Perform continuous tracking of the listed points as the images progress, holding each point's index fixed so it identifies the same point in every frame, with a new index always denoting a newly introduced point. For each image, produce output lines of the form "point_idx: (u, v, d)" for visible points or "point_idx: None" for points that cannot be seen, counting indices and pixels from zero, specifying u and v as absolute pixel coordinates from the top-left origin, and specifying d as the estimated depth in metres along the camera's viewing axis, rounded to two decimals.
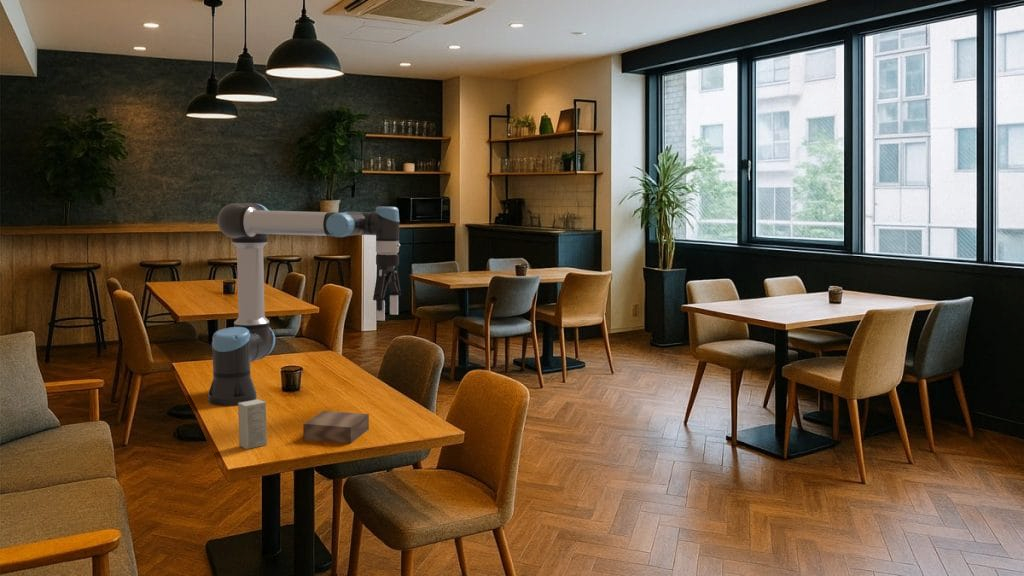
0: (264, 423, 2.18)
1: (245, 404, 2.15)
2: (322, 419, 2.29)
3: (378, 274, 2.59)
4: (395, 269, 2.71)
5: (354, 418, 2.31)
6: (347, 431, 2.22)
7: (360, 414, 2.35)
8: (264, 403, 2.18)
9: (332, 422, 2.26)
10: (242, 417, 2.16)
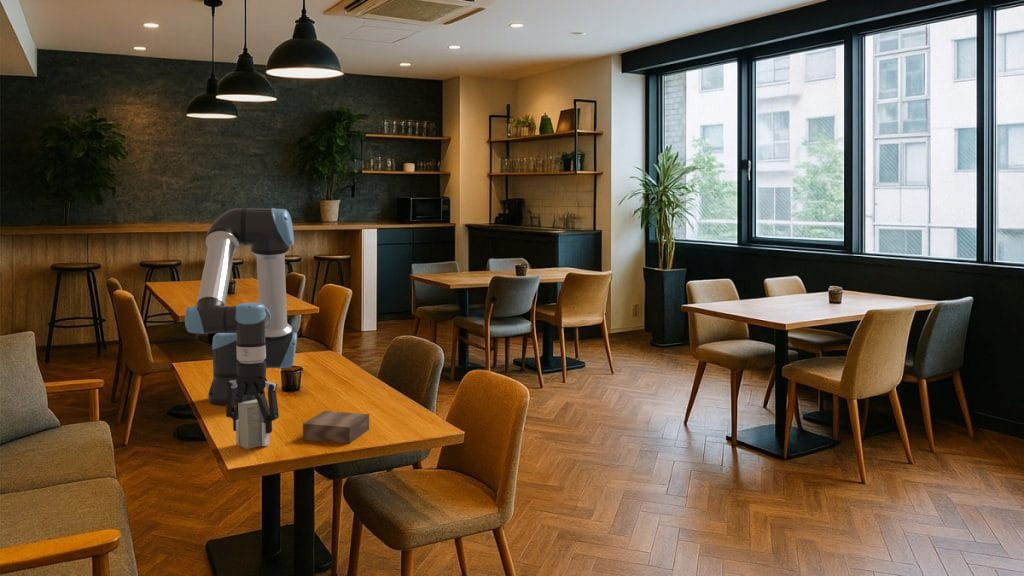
0: None
1: (245, 404, 2.15)
2: (321, 419, 2.29)
3: None
4: None
5: (354, 418, 2.31)
6: (346, 431, 2.22)
7: (360, 414, 2.35)
8: None
9: (332, 422, 2.26)
10: (242, 417, 2.16)
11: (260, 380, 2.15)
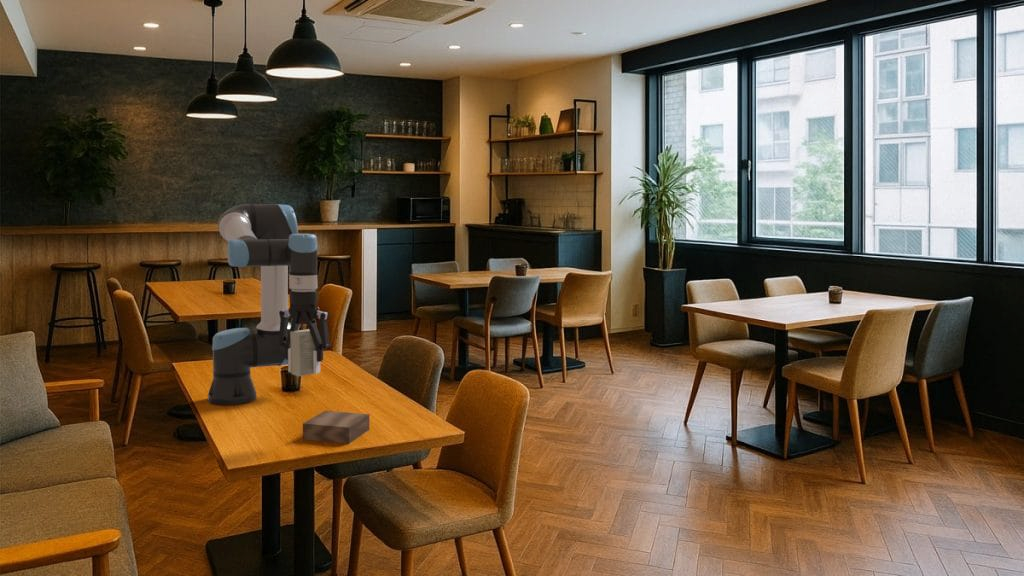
0: None
1: (297, 332, 2.20)
2: (321, 419, 2.29)
3: None
4: None
5: (354, 418, 2.31)
6: (346, 431, 2.22)
7: (361, 414, 2.35)
8: None
9: (332, 422, 2.26)
10: (294, 345, 2.20)
11: (312, 309, 2.20)
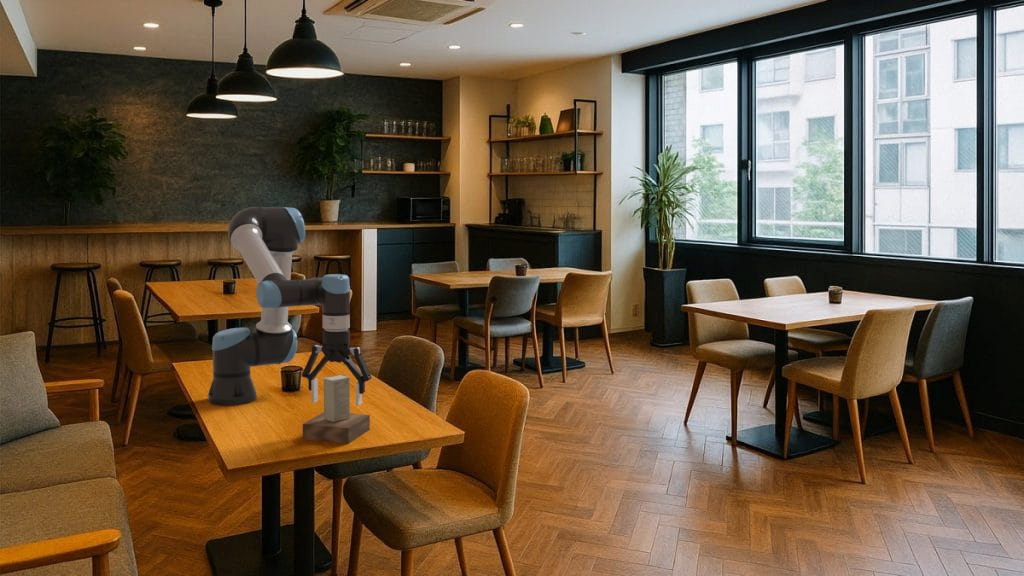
0: (348, 397, 2.30)
1: (331, 379, 2.27)
2: (322, 419, 2.29)
3: None
4: None
5: (354, 418, 2.31)
6: (345, 431, 2.22)
7: (361, 415, 2.35)
8: (348, 378, 2.29)
9: (331, 423, 2.26)
10: (328, 392, 2.27)
11: (344, 348, 2.26)
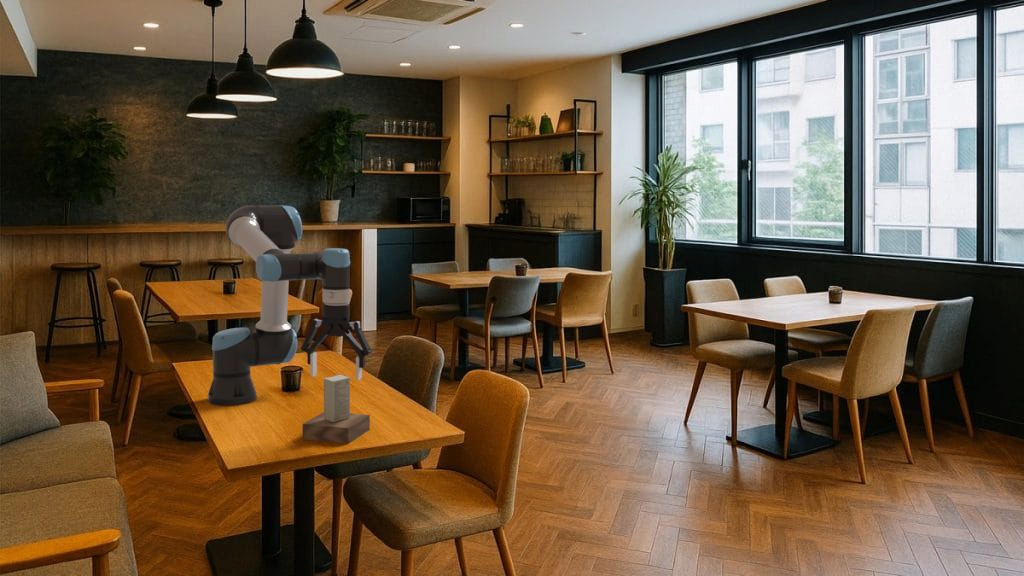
0: (348, 397, 2.30)
1: (331, 380, 2.26)
2: (321, 419, 2.29)
3: None
4: None
5: (354, 418, 2.31)
6: (345, 431, 2.22)
7: (361, 415, 2.35)
8: (348, 378, 2.29)
9: (331, 423, 2.26)
10: (328, 392, 2.26)
11: (344, 322, 2.25)
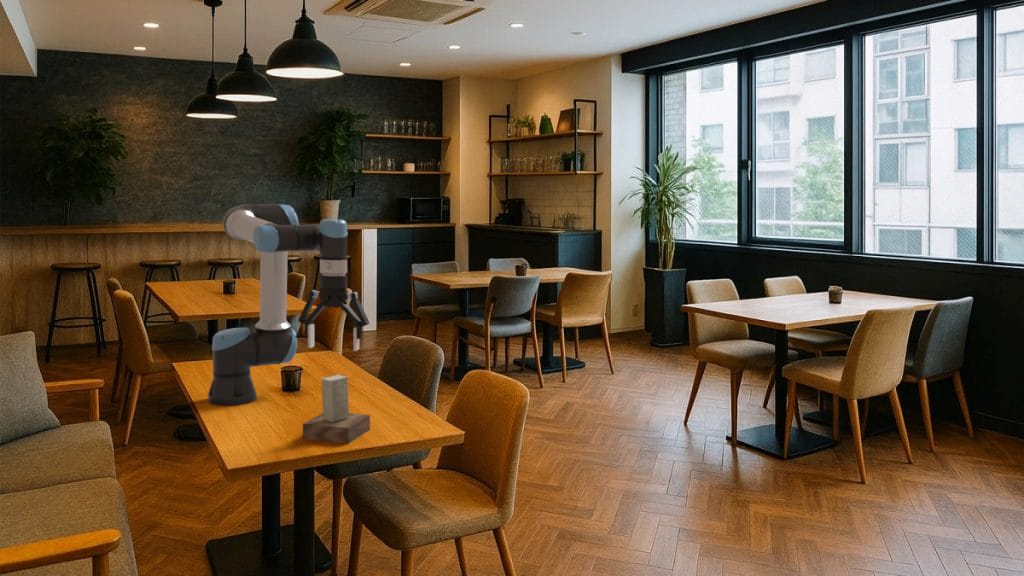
0: (346, 397, 2.30)
1: (329, 379, 2.26)
2: (322, 420, 2.29)
3: None
4: None
5: (354, 418, 2.31)
6: (345, 431, 2.22)
7: (361, 415, 2.35)
8: (346, 378, 2.29)
9: (331, 423, 2.26)
10: (326, 392, 2.27)
11: (341, 293, 2.25)
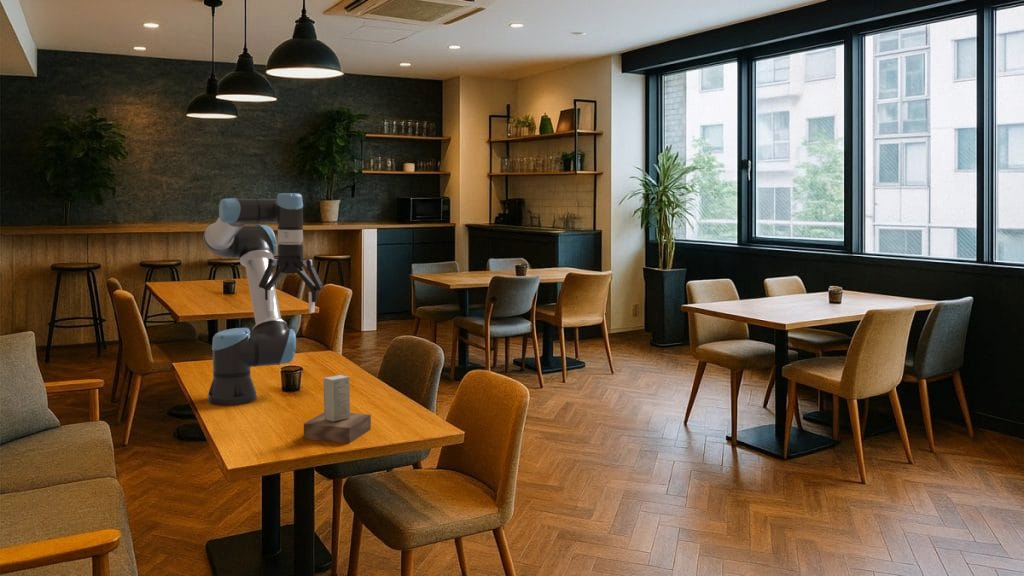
0: (348, 397, 2.30)
1: (331, 378, 2.27)
2: (323, 419, 2.29)
3: None
4: None
5: (355, 418, 2.31)
6: (346, 431, 2.22)
7: (362, 415, 2.35)
8: (348, 378, 2.29)
9: (332, 423, 2.26)
10: (328, 391, 2.27)
11: (297, 260, 2.47)
